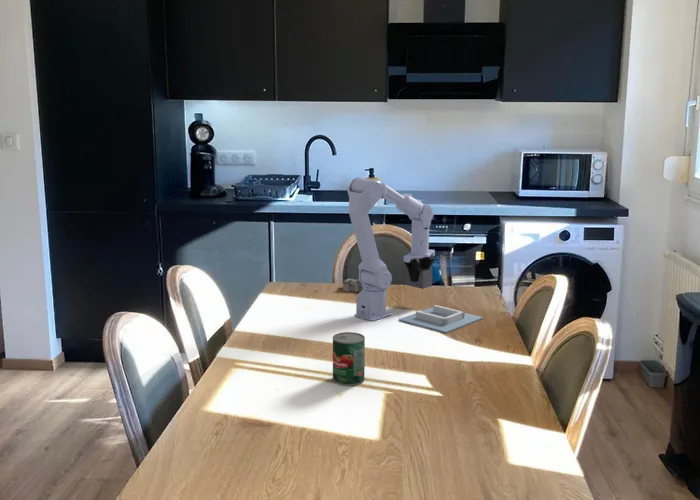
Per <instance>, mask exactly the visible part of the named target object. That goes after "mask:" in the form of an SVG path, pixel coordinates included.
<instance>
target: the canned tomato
mask: <svg viewBox="0 0 700 500" xmlns="http://www.w3.org/2000/svg"><path fill="white" fill-rule="evenodd" d="M365 340H366V339H365V335H363V334H362V333H358V332H352V331H351V332H350V331H343V332H338V333H335V334H334V335H333V336H332V381H333V382H334V383H335V384H338V385H339V386H345V387H347V386H349V387H352V386H353V387H355V386H359V385H361V384H363V383H364V382H365V370H366V369H365V365H366V364H365V357H366V353H365V351H366V350H365V346H366V345H365V344H366V343H365Z"/></svg>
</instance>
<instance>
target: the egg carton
mask: <svg viewBox="0 0 700 500" xmlns="http://www.w3.org/2000/svg"><path fill="white" fill-rule="evenodd" d="M363 288H364V287H362V283H361V282H360V280H359V278H358V279H357V278H356V279H353V278H347V279H345V280H343V281H342V291H343V292H347V291H349V292H355V293H360V292H362V290H363Z"/></svg>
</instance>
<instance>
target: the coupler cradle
mask: <svg viewBox="0 0 700 500" xmlns="http://www.w3.org/2000/svg"><path fill="white" fill-rule="evenodd" d="M483 319H484V317H483V316H479V315H475V314H472V313H468V312H467V313H466V312H465V311H462V310H458V309H453V308H450V307H445V306H441V305H439V304H438V305H436V304H434V305H432V307H429V308H427V309H424V310H423V309H422V311H420V310H417V311H415V313H413V314H409V315H407V316H404V317H400V318H398V322H402V323H406V324H410V325H413V326H416V327H417V326H418V327H421V328H424V329H429V330H431V331H434V332H440V333H443V334H448V333H451V332H454V331H456V330H459V329H461V328H464V327H466V326H469V325H471V324H474V323H476V322H478V321H481V320H483Z"/></svg>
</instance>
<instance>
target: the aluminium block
mask: <svg viewBox="0 0 700 500" xmlns="http://www.w3.org/2000/svg"><path fill="white" fill-rule="evenodd" d="M432 285H433V268H432V267H430V268H428V267H423V266H420V267H419V271H418V279H417V282H412V281H411V280H410V275H409V272H408V269H407V267H405V286H409V287H413V288H418V289H423V290H424V289H427V288H430V287H432Z"/></svg>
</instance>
